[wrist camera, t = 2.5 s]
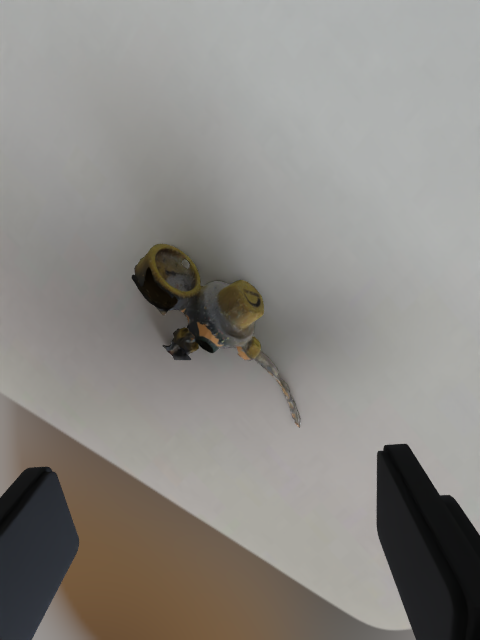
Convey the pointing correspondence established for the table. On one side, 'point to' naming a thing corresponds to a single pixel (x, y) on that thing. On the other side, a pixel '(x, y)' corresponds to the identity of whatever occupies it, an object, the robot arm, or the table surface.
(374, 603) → the table surface
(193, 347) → the regulator
